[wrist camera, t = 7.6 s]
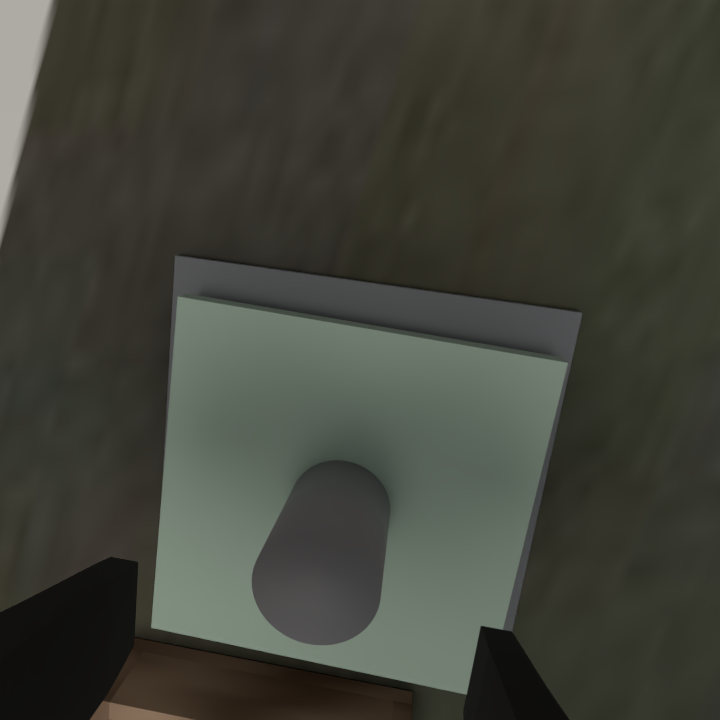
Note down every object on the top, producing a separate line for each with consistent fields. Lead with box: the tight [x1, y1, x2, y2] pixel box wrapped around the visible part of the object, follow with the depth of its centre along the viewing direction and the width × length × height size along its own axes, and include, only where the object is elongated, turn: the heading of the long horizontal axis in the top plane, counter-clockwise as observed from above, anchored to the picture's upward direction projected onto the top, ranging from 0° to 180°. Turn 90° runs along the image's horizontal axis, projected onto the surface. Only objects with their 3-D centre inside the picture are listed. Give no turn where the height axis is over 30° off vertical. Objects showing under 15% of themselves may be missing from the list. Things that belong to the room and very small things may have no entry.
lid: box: [151, 294, 568, 695], centre depth 17 cm, size 12×12×6 cm
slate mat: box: [162, 255, 582, 631], centre depth 20 cm, size 13×13×1 cm
